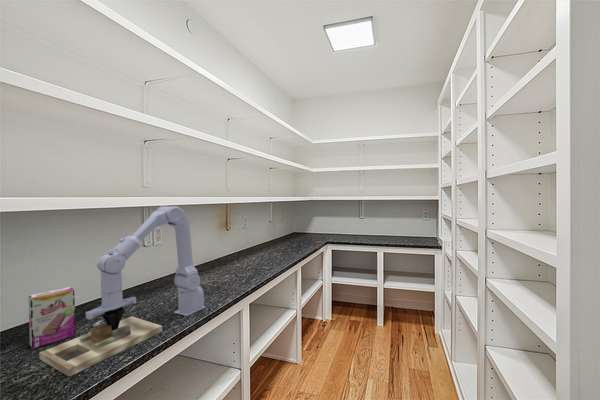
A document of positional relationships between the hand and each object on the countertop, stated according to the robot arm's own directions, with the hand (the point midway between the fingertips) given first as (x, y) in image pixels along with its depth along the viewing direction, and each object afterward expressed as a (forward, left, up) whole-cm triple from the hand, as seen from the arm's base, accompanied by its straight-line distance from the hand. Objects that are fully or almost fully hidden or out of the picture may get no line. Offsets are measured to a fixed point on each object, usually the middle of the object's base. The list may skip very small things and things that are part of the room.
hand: (113, 332), depth 92 cm
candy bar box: (+9, -19, -3) cm, 21 cm away
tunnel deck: (+2, 0, -3) cm, 4 cm away
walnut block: (+4, 0, -1) cm, 4 cm away
